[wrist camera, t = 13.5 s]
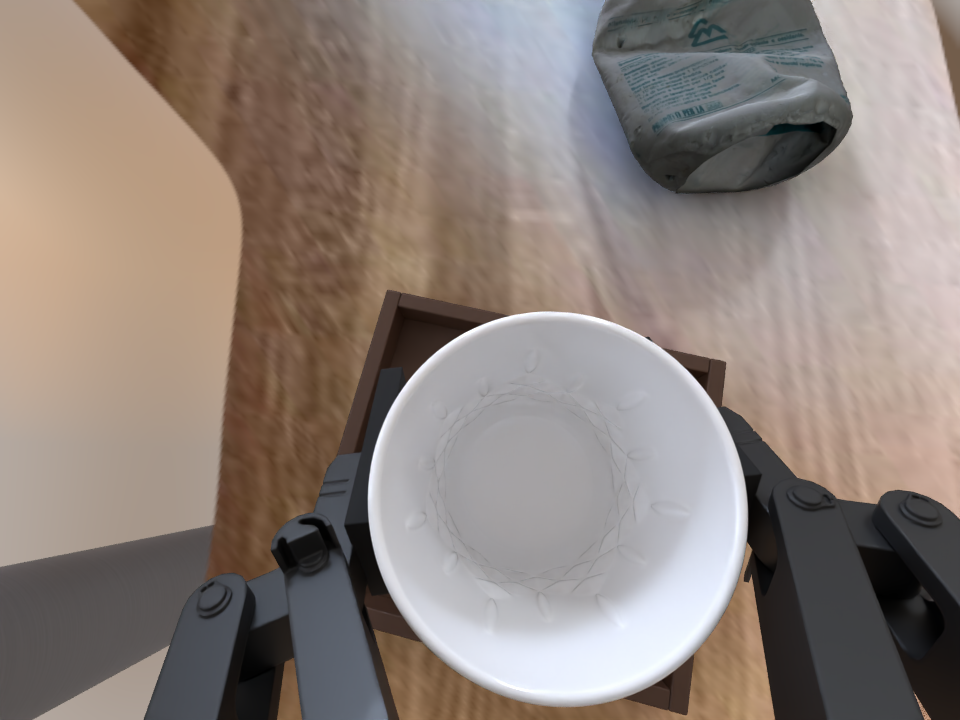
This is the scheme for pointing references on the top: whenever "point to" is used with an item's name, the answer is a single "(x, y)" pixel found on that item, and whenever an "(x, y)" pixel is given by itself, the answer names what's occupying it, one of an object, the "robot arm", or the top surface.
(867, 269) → the top surface
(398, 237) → the top surface
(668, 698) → the serving tray
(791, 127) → the grey hollow crumpled part
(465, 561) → the white cup
